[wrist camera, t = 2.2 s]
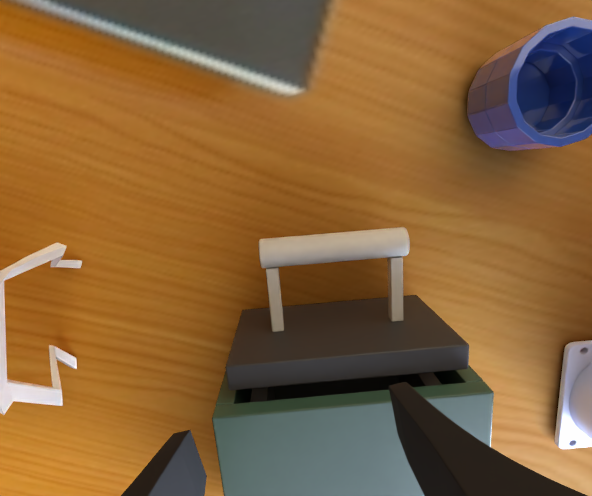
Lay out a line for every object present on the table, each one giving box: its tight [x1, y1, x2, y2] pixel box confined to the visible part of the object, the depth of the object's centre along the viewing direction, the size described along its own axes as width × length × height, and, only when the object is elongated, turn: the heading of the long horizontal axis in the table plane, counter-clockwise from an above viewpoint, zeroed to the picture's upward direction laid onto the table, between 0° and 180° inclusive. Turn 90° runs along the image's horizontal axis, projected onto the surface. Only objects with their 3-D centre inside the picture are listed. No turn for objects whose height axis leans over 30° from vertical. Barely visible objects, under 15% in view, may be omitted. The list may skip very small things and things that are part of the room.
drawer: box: [225, 227, 469, 402], centre depth 18 cm, size 17×10×6 cm, turn 4°
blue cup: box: [467, 17, 592, 151], centre depth 17 cm, size 5×5×4 cm
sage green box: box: [212, 365, 494, 496], centre depth 19 cm, size 14×12×8 cm
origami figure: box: [0, 243, 82, 414], centre depth 18 cm, size 12×8×5 cm
